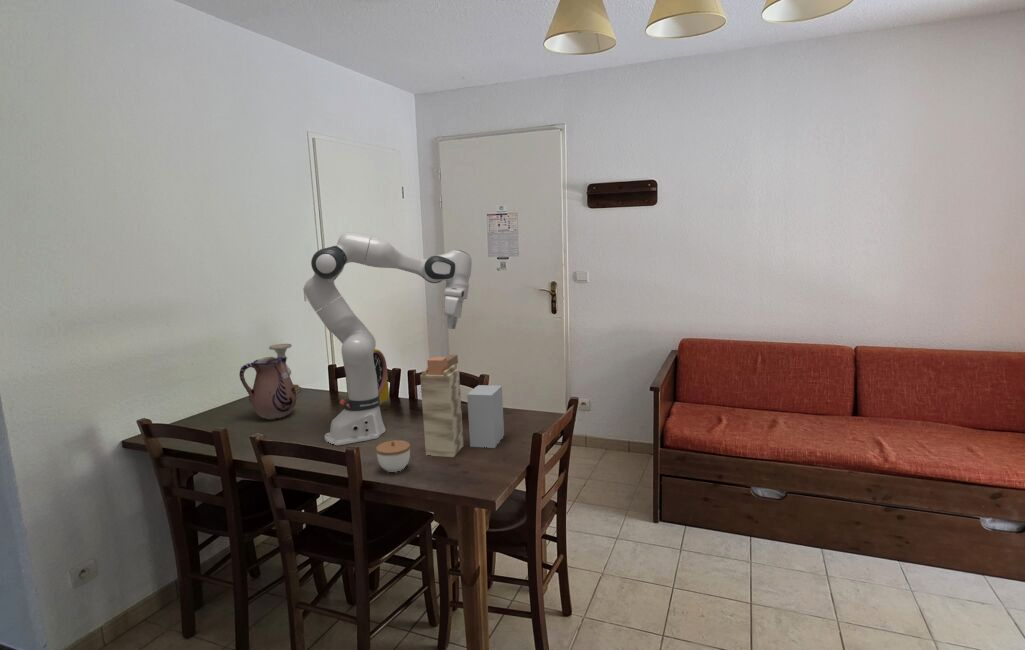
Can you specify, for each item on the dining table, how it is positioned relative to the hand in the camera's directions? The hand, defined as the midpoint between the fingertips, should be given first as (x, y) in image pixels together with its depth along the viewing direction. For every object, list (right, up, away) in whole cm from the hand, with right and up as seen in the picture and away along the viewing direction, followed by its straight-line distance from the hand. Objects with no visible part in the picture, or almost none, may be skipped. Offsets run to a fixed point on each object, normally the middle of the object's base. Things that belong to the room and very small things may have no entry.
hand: (451, 328), depth 227 cm
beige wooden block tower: (0, -42, -21) cm, 47 cm away
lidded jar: (-15, -45, -35) cm, 59 cm away
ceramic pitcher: (-78, -38, +25) cm, 91 cm away
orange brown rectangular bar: (0, -14, -22) cm, 26 cm away
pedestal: (+15, -40, -14) cm, 45 cm away
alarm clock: (-40, -34, +38) cm, 65 cm away
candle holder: (-87, -32, +62) cm, 112 cm away
